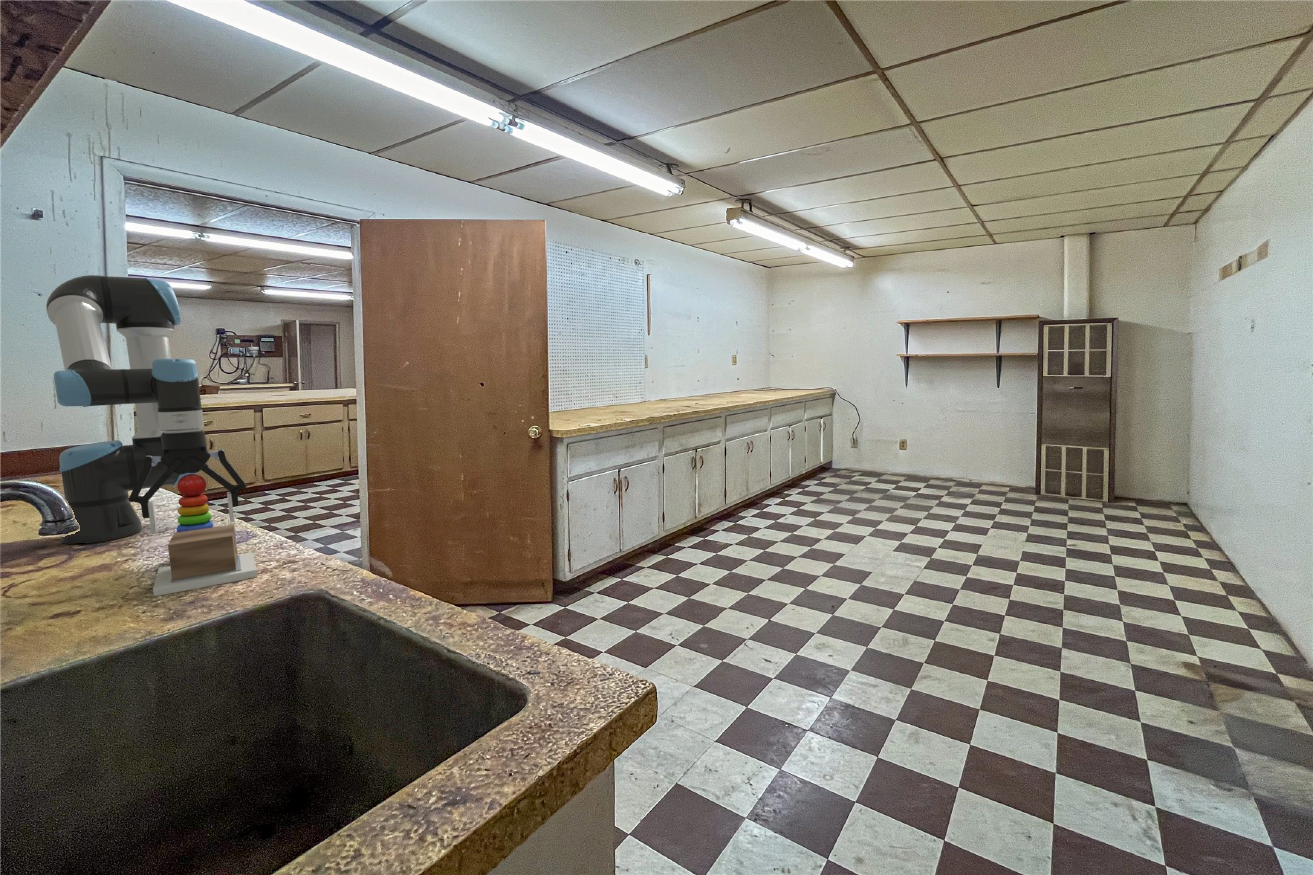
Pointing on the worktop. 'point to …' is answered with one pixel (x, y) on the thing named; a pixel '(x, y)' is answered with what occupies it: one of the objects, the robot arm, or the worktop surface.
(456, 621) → the worktop surface
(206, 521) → the stacking toy
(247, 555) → the baseplate
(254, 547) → the worktop surface
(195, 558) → the walnut block
